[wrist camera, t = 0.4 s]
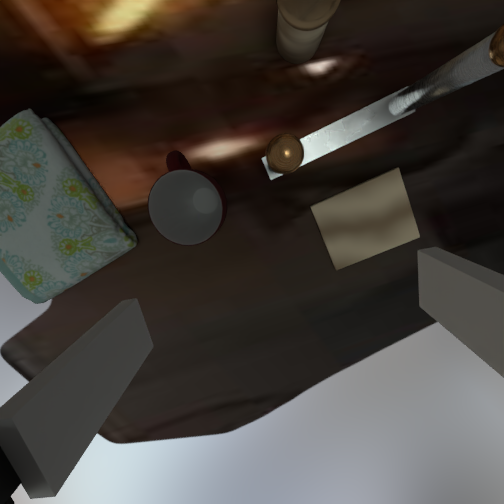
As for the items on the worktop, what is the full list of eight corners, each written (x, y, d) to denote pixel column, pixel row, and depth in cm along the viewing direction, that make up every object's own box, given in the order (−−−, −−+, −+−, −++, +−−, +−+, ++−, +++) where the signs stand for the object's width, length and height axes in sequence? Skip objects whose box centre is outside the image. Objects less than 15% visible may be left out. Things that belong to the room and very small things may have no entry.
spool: (265, 25, 31) (265, -33, 23) (312, -2, 30) (330, -73, 22) (285, 75, 33) (291, 39, 24) (329, 51, 32) (353, 4, 23)
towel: (49, 108, 35) (14, 97, 31) (144, 241, 40) (127, 250, 35) (-40, 181, 39) (-84, 181, 34) (57, 296, 43) (30, 311, 38)
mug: (156, 173, 37) (117, 172, 27) (204, 142, 35) (181, 129, 26) (197, 238, 39) (175, 259, 29) (245, 211, 37) (237, 223, 28)
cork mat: (309, 206, 37) (310, 206, 36) (395, 167, 35) (398, 167, 34) (335, 268, 39) (336, 270, 38) (416, 235, 37) (420, 236, 36)
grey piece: (261, 158, 35) (257, 141, 18) (403, 89, 32) (564, -14, 15) (270, 179, 36) (274, 182, 19) (410, 113, 33) (571, 42, 16)
